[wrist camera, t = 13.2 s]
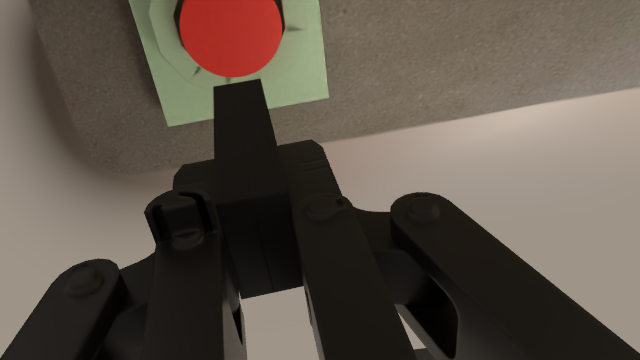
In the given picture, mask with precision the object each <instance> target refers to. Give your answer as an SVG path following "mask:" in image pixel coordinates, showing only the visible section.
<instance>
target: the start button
mask: <svg viewBox="0 0 640 360" xmlns="http://www.w3.org/2000/svg"><path fill="white" fill-rule="evenodd" d="M179 25H180V34H181V38H182V41H183V44H184V46H185V48H186V50H187V52H188V53H189V55H190V56H191V57H192V59H193V60H194V61H195V62H196V63H197V64H198V65H199V66H201V67H202V68H204V69H205V70H207V71H209V72H211V73H213V74H216V75H219V76H223V77H243V76H247V75H250V74H253V73H255V72H257V71H259V70H260V69H262V68H263V67H264V66H265V65H267V64H268V63H269V62H270V60H271V59H272V58H273V57H274V55H275V53H276V52H277V49H278V47H279V44H280V41H281V36H282V21H281V16H280V13H279V10H278V7H277V5H276V3H275V1H274V0H184V1H183V4H182V9H181V14H180V23H179Z"/></svg>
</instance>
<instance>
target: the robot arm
mask: <svg viewBox="0 0 640 360" xmlns="http://www.w3.org/2000/svg"><path fill="white" fill-rule="evenodd" d="M213 102H214V159H211V160H206V161H201V162H195V163H190V164H185V165H182V167H181V168H180V169H179V170H178V172H177V173H176V174H175V176H174V180H173V190H171V191H168V192H165V193H163V194H161V195H160V196H158V197H156V198H155V199H154V200H152V201H151V202H150V203H149V204H148V206H147V207H146V210H145V211H144V214H145V217H146V219H147V222H148V224H149V227H150V230H151V232H152V235H153V238H154V240H155V243H156V248H155V252H154V253H153V254H151V255H150V256H148V257H147V258H145V259H143V260H141V261H139V262H137V263H134V264H132V265H130V266H127V267H125V268H123V269H120V270H119V268H118V266H117V264H116V263H114V262H112V261H111V260H107V259H94V260H88V261H84V262H82V263H80V264H77V265H74V266H72V267H71V268H69V269H68V270H66V271H65V272H63V273H62V274H60V275H59V277H58V278H57V279H56V280H55V281H54V282H53V283H52V284H51V285H50V287H49V288H48V290H47V291H46V293H45V294H44V296H43V297H42V299H41V300H40V301H39V303H38V305H37V306H36V308H35V309H34V310H33V312H32V313H31V315H30V316H29V317H28V319H27V320H26V322H25V323H24V325H23V326H22V328H21V329H20V331H19V332H18V334H17V335H16V336H15V338H14V339H13V341H12V343H11V344H10V345H9V346H8V348H7V349H6V351H5V352H4V354H3V355H2V357H1V358H0V360H247V350H246V338H245V326H244V316H243V312H242V309H241V305H240V301H239V292H240V296H241V299H245V298H250V297H255V296H260V295H264V294H269V293H274V292H278V291H282V290H287V289H292V288H296V287H301V286H304V289H305V295H306V301H307V307H308V312H309V318H310V323H311V325H312V328H313V333H314V337H315V341H316V346H317V351H318V355H319V360H418V359H417V357H416V354H415V352H414V350H413V347H412V345H411V342H410V340H409V338H408V335H407V333H406V331H405V328H404V326H403V324H402V321H401V319H400V316H399V314H400V315H401V316H402V317H403V319H404V320H405V321H406V323H407V324H408V325H409V326H410V328H411V329H412V330H413V332H414V333H415V334H416V335H417V337H418V338H419V339H420V340H421V342H422V343H423V344H424V345H425V347H426V348H427V349H428V350H429V352H430V353H431V354H432V355H433V357H434V358H435V359H436V360H640V353H638V352H637V351H636V350H635V349H633V348H632V347H631V346H630V345H628V344H627V343H626V342H624V341H623V340H622V339H621V338H620V337H618V336H617V335H616V334H615V333H613V332H612V331H611V330H610V329H608V328H607V327H606V326H605V325H603V324H602V323H601V322H600V321H598V320H597V319H596V318H595V317H593V316H592V315H591V314H590V313H589V312H587V311H586V310H584V309H583V308H582V307H581V306H580V305H578V304H577V303H576V302H575V301H574V300H572V299H571V298H570V297H569V296H567V295H566V294H565V293H563V292H562V291H561V290H560V289H559V288H557V287H556V286H555V285H554V284H552V283H551V282H550V281H549V280H547V279H546V278H545V277H544V276H542V275H541V274H540V273H539V272H537V271H536V270H535V269H534V268H532V267H531V266H530V265H529V264H528V263H526V262H525V261H524V260H523V259H521V258H520V257H519V256H518V255H516V254H515V253H514V252H513V251H511V250H510V249H509V248H508V247H506V246H505V245H504V244H503V243H501V242H500V241H499V240H498V239H496V238H495V237H494V236H493V235H491V234H490V233H489V232H487V231H486V230H485V229H484V228H483V227H481V226H480V225H479V224H478V223H476V222H475V221H474V220H473V219H471V218H470V217H469V216H468V215H467V214H465V213H464V212H463V211H462V210H460V209H459V208H458V207H456V206H455V205H454V204H453V203H452V202H450V201H449V200H447V199H445V198H444V197H442V196H440V195H436V194H432V193H428V192H425V193H423V192H416V193H411V194H407V195H404V196H402V197H400V198H398V199H397V200H396V201H395V202H394V203H393V204H392V206H391V211H390V212H372V211H364V210H360V209H357V208H355V207H353V205H352V203H351V202H350V201H349V200H348V199H347V198H346V197H344V196H342V194H341V191H340V189H339V186H338V184H337V181H336V179H335V176H334V174H333V172H332V169H331V167H330V164H329V162H328V159H327V157H326V154H325V152H324V150H323V147H322V146H320V145H319V144H317V143H316V142H314V141H313V140H306V141H300V142H295V143H290V144H284V145H279V146H277V143H276V139H275V135H274V131H273V127H272V123H271V119H270V115H269V111H268V107H267V103H266V99H265V95H264V90H263V86H262V82H261V78H260V79H254V80H249V81H243V82H237V83H231V84H225V85H220V86H214V87H213ZM397 311H398V312H397ZM398 313H399V314H398Z"/></svg>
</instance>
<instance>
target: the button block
mask: <svg viewBox="0 0 640 360" xmlns="http://www.w3.org/2000/svg"><path fill="white" fill-rule="evenodd" d="M183 1H184V0H129V3H130V6H131V10H132V13H133V16H134V19H135V23H136V26H137V29H138V32H139V35H140V39H141V42H142V45H143V48H144V51H145V55H146V58H147V61H148V64H149V67H150V71H151V74H152V77H153V80H154V84H155V87H156V90H157V93H158V96H159V100H160V103H161V106H162V109H163V112H164V116H165V119H166V122H167V125H168V127H170V126H175V125H181V124H186V123H192V122H198V121H203V120H209V119H214V102H213V87H214V86H220V85H225V84H231V83H237V82H243V81H249V80H254V79H260V78H261V82H262V86H263V90H264V95H265V99H266V103H267V107H268V109H270V108H276V107H281V106H287V105H293V104H298V103H304V102H309V101H315V100H321V99H326V98H329V94H328V84H327V75H326V65H325V55H324V46H323V36H322V26H321V17H320V7H319V0H274V1H275V3H276V5H277V7H278V10H279V13H280V16H281V21H282V36H281V41H280V44H279V47H278V49H277V52H276V53H275V55H274V57H273V58H272V59H271V60H270V62H269V63H268V64H267V65H265V66H264V67H263V68H262V69H260V70H259V71H257V72H255V73H253V74H250V75H247V76H243V77H223V76H219V75H216V74H213V73H211V72H209V71H207V70H205V69H204V68H202V67H201V66H199V65H198V64H197V63H196V62H195V61H194V60H193V59H192V57H191V56H190V55H189V53H188V52H187V50H186V48H185V46H184V44H183V41H182V38H181V34H180V25H179V23H180V14H181V9H182V4H183Z"/></svg>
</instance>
